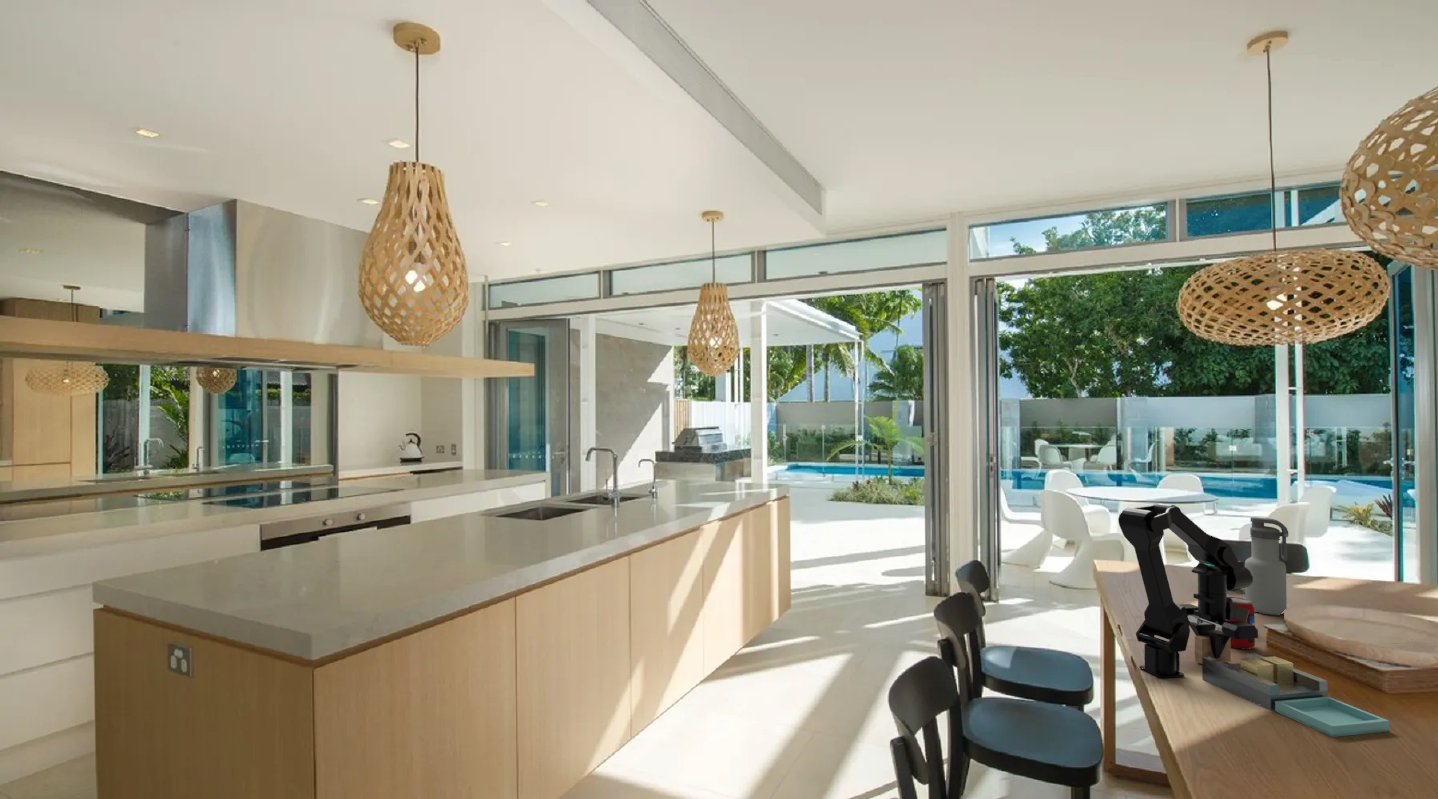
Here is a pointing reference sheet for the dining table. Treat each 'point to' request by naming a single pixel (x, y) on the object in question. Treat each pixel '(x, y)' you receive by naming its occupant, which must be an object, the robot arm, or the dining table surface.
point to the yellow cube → (1280, 669)
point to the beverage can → (1251, 620)
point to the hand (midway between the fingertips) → (1212, 656)
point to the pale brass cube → (1258, 668)
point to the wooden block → (1210, 649)
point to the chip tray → (1331, 716)
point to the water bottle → (1267, 567)
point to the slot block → (1261, 683)
